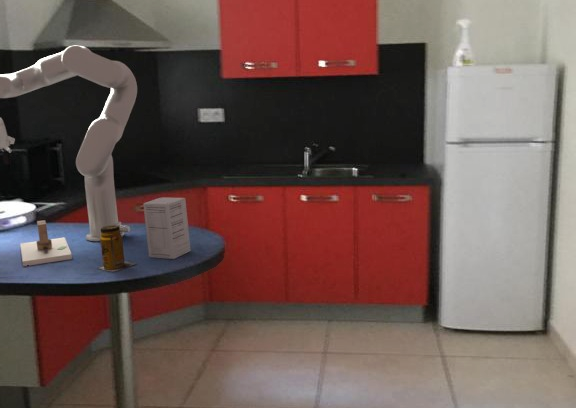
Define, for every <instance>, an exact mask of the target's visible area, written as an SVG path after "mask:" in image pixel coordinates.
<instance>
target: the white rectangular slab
mask: <svg viewBox="0 0 576 408" xmlns="http://www.w3.org/2000/svg"><path fill="white" fill-rule="evenodd" d="M37 241H38V240H37ZM37 241H29V242H21V243H20V252H21V260H22V266H23V267H28V266H27V265H29V266H33V265H42V264H47V263H53V262H54V263H55V262H60V261H68V260H72V259H73V254H72V251H71V250H70V247H69V244H68V242H67V240H66V237H59V238H58V237H57V238H51V242H52V248H49V249H47V250H48V252H46V253H44V250H39V249H37Z"/></svg>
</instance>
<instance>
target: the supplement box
mask: <svg viewBox="0 0 576 408" xmlns="http://www.w3.org/2000/svg"><path fill="white" fill-rule="evenodd" d="M142 204H143V212H144V221H145V231H146V241H147V250H148V257H149V258H154V259H155V258H157V259H168V260H169V259H170V260H175V259H177V258H180V257H181V256H183V255H185V254H187V253H189V252H191V242H190V241H191V240H190V232H189V231H190V229H189V221H188V213H187V202H186V198H185V197H163V196H162V197H159V198H155V199H152V200H150V201H149V200H148V201H146V202H144V203H142Z"/></svg>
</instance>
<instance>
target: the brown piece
mask: <svg viewBox="0 0 576 408" xmlns="http://www.w3.org/2000/svg"><path fill="white" fill-rule="evenodd" d="M36 223H37V224H36V225H37V232H38V240H37V249H39V250H44V253H46V252H48V250H47V249H49V248H52V242H51V239H52V238H51V239H50V238H49V237H48V236H49V235H48V229H47V228H48V227H47V222H46V220H37V221H36Z"/></svg>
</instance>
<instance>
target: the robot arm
mask: <svg viewBox="0 0 576 408" xmlns="http://www.w3.org/2000/svg"><path fill="white" fill-rule="evenodd" d="M77 76H78V77H81V78H83V79H85V80H87V81H89V82H90V81H91V82H92V83H95V84H97V85H99V86H101V87H106V88H108V89H109V88H110V93H109V95H108V97H107V98H106V99H107V100H106V101H105V104H104V107H103V110H102V111H101V114H100V116H99V117H98V118H96V119H95V120H93V121H92V122H91V124H90V125H89V127H88V128H87V129H88V130H87V131H86V133H85V135H84V138H83V140H82V142H81V145H80V148H79V150H78V153H77V156H76V158H75V166H76V169H77V171H78V173H80V174H81V175H82V176H84V188H85V189H84V190H85V199H86V207H87V215H88V223H89V233H87V234H86V236H85V237H86V240H87V241H90V242H101V241H100V238H101V228H102V227H105V226H112V225H116V226H119V228H120V229H119V230H120V235H121V236H122V237H124V236H125V233H130V232H131V227H130V226H129V225H122V221H119V217H118V209H117V197H116V189H115V188H116V187H115V179H114V178H115V177H114V158H113V156H112V155H113V154H112V153H113V151H114V149H115V145H116V144H117V143H118V142H119V141H120V139H122V136H123V134H124V131H125V127H126V125H127V123H128V120H129V118H130V114H131V113H132V110H133V108H134V106H135V103H136V98H137V96H138V95H137V94H138V85H137V81H136V77H135V76H134V74H133V72H132V71H131V69H130V68H129V67H128V66H127V65H126V64H125V63H123V62H121V61H119V60H111V59H108V58H106V57H104V56H101V55H99V54H97V53H94V52H93V51H91V50H90V49H89V48H88V47H86V46H83V45H70V46H68V47H66V48H65V49H64V50H62V51H61V52H60V51H59V52H58V53H55V54H54V53H53V54H52V55H48V56H46V57H43V58H40V59H39V60H37V62H35V64H33V65H31V66H29V67H27V68H24V69H21V70H19V71H16V72H12V73H4V74H0V99H9V98H16V97H18V96H19V97H20V96H21V95H24V94H27V93H31V92H32V91H35V90H38V89H41V88H43V87H48V86H51V85H53V84H56V83H59V82H62V81H64V80H68V79H71V78H74V77H77ZM15 141H16V138H14V137H11V136H9V135H8V132H7V129H6V125H5V122H4V120H3V119H2V117H0V150H1V151H2V153H1V155H2V160H3V161H2V162H3V164H4V165H7V166H10V165H12V158H11V153H12V150H13V148H14V147H15V145H14V144H15Z"/></svg>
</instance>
